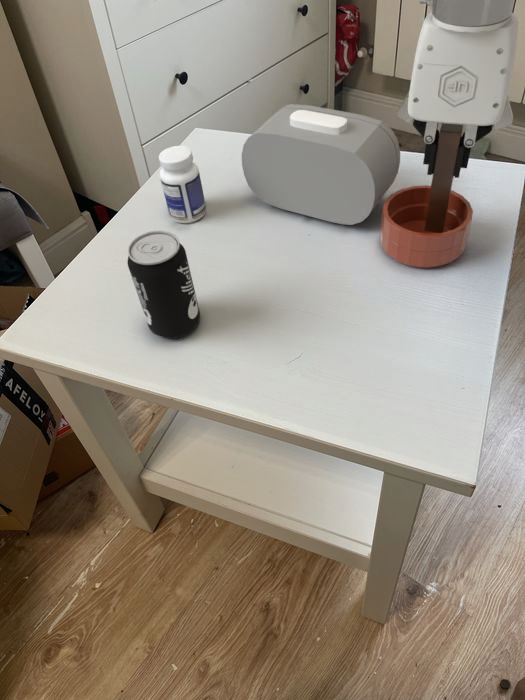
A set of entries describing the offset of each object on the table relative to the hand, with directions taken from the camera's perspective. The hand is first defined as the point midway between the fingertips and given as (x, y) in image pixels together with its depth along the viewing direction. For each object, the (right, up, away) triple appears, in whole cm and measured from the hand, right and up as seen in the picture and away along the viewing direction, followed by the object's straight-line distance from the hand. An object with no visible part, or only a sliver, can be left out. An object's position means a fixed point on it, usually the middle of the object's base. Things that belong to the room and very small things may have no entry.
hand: (444, 169), depth 69 cm
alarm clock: (-13, 0, +16) cm, 21 cm away
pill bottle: (-34, -1, +17) cm, 38 cm away
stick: (+1, -6, +6) cm, 9 cm away
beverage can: (-33, -19, +2) cm, 38 cm away
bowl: (-1, -8, +8) cm, 11 cm away
